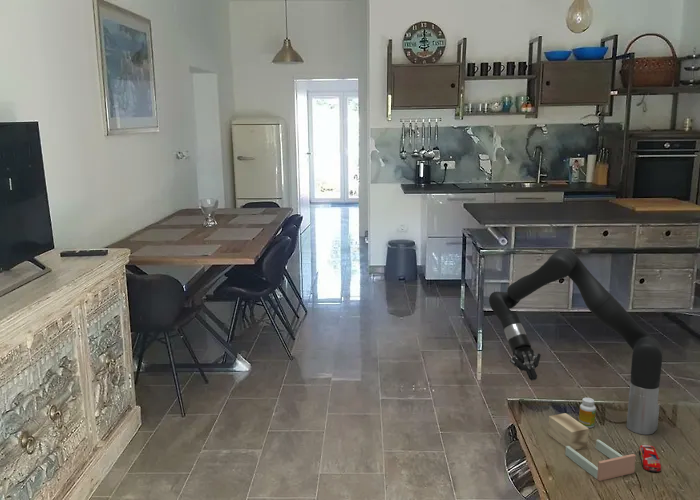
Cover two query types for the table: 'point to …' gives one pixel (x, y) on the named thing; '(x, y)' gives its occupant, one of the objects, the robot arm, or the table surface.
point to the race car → (649, 458)
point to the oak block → (568, 431)
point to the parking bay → (604, 462)
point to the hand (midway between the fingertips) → (534, 379)
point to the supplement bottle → (587, 412)
